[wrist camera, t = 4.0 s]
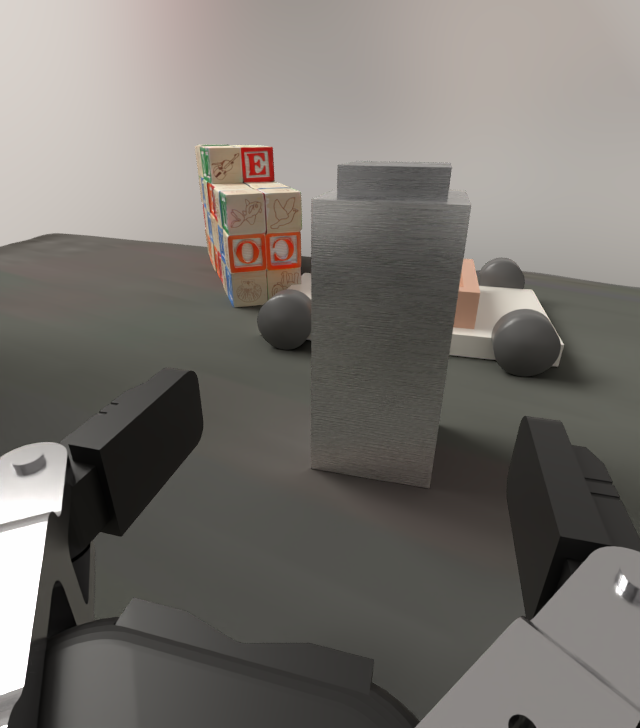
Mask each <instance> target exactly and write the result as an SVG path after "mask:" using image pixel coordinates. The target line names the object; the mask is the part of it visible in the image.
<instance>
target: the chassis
mask: <svg viewBox="0 0 640 728" xmlns="http://www.w3.org/2000/svg"><path fill="white" fill-rule="evenodd" d="M478 283H479V285H478ZM524 284H525V279H524V275H523V273H522V271H521V270H520V268H519V266H518V265H517V264H516V263H515V262H514V261H512V260H510V259H507V258H496V259H493V260H491V261H489V262H487V263H486V264H485V265H484V266H483V267H482V269H481V270H480V273H479V276H478V280H477V275H476V271H475V266H474V262H473V260H472V259H463V265H462V271H461V278H460V285H459V292H458V299H457V305H456V312H455V319H454V326H453V333H452V339H451V346H450V353H449V355H453V356H463V357H472V358H481V359H491V360H496V361H497V363H498V364H499V365H500V367H501V368H502V369H504V370H505V371H507V372H508V373H511V374H513V375H517V376H533V375H537V374H540V373H542V372H544V371H546V370H547V369H549V368H550V367H551V366H556V367H558V366H559V362H560V358H561V355H562V351H563V347H564V344H563V342H562V340H561V339H560V337H559V335H558V333H557V332H556V330H555V328H554V327H553V325H552V323H551V321H550V320H549V318H548V316H547V314H546V313H545V311H544V309H543V307H542V306H541V304H540V302H539V300H538V299H537V297H536V295H535V293H534V292H533V290H529V289H523V288H524ZM257 323H258V328H259V333H260V335H262V336H263V338H264V339H265V340H266V341H267V342H268V343H269V344H271V345H272V346H274V347H276V348H279V349H285V350H289V349H294V348H297V347H299V346H300V345H302V344H303V343H304V342H305V340H311V273H304V274H303V275H302V276H301V284H296V285H291V286H290V287H289V288H288V289H286V290H282V291H280V292H278V293H276V294H275V295H274V296H273V297H272V298H271V299H269V300H268V301H267V302H266V303H265V304H264V305H263V306H262V307H261V309H260V311H259V313H258V318H257Z"/></svg>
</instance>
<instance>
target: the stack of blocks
mask: <svg viewBox="0 0 640 728" xmlns="http://www.w3.org/2000/svg"><path fill="white" fill-rule="evenodd" d="M195 153H196V159H197V166H198V173H199V185H200V192H201V200H202V202H203V211H204V218H205V227H206V230H205V233H206V240H207V247H208V254H209V256H210V260H211V262H212V264H213V267H214V269H215V271H216V272H217V273H218V275H219V277H220V279H221V280H222V282H223V286H224V289H225V292H226V294H227V296H228V297H229V299H230V301H231V303H232V305H233V307H234V308H235V307H246V306H256V305H264V304H265V303H266V302H267V301H268V300H269V299H271V298H272V297H273V296H274V295H275V294H276V293H278V292H280V291H282V290H286V289H288V288H289V287H290V286H291V285H296V284H301V268H300V267H301V234H300V231H301V229H302V211H301V210H302V209H301V192H300V191H297V190H295V189H292V188H290V187H288V186H285V185H283V184H281V183H277V182H274V162H273V148H272V147H270V146H262V145H197V146H195Z"/></svg>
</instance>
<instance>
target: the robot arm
mask: <svg viewBox="0 0 640 728" xmlns="http://www.w3.org/2000/svg"><path fill="white" fill-rule="evenodd" d="M202 431H203V416H202V408H201V399H200V391H199V383H198V378H197V375H196V373H195V372H194V371H189V370H182V369H174V368H163V369H162V370H160V371H159V372H158V373H157V374H155V375H154V376H153V377H152V378H150V379H149V380H148V381H147V382H145V383H143V384H140V385H138V386H136V387H134V388H131V389H129V390H127V391H125V392H123V393H122V394H121V395H120V396H118V397H117V398H116V399H114V400H113V401H112V402H111V404H110V405H109V404H108V405H107V406H105V407H104V408H103V409H102V410H100V411H99V414H95V415H94V416H93V417H91V418H90V419H89V420H87V421H86V422H85V423H84V424H82V425H81V426H80V427H78V428H77V429H76V430H75V431H73V432H72V433H71V434H69V435H68V436H67V437H66V438H64V439H63V440H62V441H60V442H59V443H53V442H40V443H34V444H29V445H25V446H22V447H19V448H17V449H14V450H12V451H10V452H8V453H6V454H5V455H3V456H2V457H0V728H640V538H639V536H638V534H637V532H636V530H635V528H634V526H633V524H632V522H631V520H630V517H629V515H628V513H627V511H626V509H625V507H624V505H623V503H622V501H620V500H619V498H620V497H619V494H618V492H617V490H616V488H615V486H614V485H612V480H611V478H610V476H609V474H608V471H607V469H606V467H605V465H604V464H603V463H602V462H601V461H600V460H599V459H598V458H597V457H596V456H595V455H594V454H593V453H592V452H591V451H589V450H588V449H587V448H586V447H581V446H574V445H571V443H570V441H569V438H568V436H567V433H566V431H565V428H564V426H563V423H562V422H561V421H558V420H551V419H543V418H536V417H528V416H524V417H523V418H522V420H521V423H520V427H519V431H518V435H517V439H516V443H515V447H514V451H513V455H512V459H511V463H510V467H509V472H508V478H507V502H508V508H509V514H510V521H511V527H512V533H513V539H514V545H515V552H516V558H517V564H518V570H519V576H520V583H521V589H522V595H523V601H524V607H525V614H526V617H525V616H521V617H519V618H518V619H516V620H515V621H514V622H513V623H512V624H511V625H510V626H509V627H508V628H507V629H506V630H505V631H504V632H503V633H502V634H501V635H500V637H499V638H498V639H497V640H496V641H495V642H494V643H493V644H492V645H491V646H490V647H489V648H488V649H487V651H486V652H485V653H484V654H483V655H482V656H481V657H480V658H479V659H478V660H477V661H476V662H475V663H474V665H473V666H472V667H471V668H470V669H469V670H468V671H467V672H466V673H465V674H464V675H463V676H462V677H461V679H460V680H459V681H458V682H457V683H456V684H455V685H454V686H453V687H452V688H451V689H450V690H449V691H448V693H447V694H446V695H445V696H444V697H443V698H442V699H441V700H440V701H439V702H438V703H437V704H436V705H435V707H434V708H433V709H432V710H431V711H430V712H429V713H428V714H427V715H426V716H425V717H424V718H423V719H422V721H421V722H419V720H418V719H417V718H416V717H415V716H414V715H413V714H412V713H411V712H410V711H409V710H408V709H407V708H406V707H405V706H404V705H403V704H402V703H401V702H400V701H399V700H397V699H396V698H395V697H393V696H392V695H391V694H389V693H388V692H387V691H385V690H384V689H382V688H380V687H379V686H377V685H375V684H374V683H372V674H373V664H374V660H373V659H369V658H366V657H362V656H358V655H354V654H350V653H346V652H342V651H339V650H335V649H331V648H327V647H323V646H319V645H315V644H312V643H240V642H237V641H235V640H233V639H231V638H230V637H228V636H227V635H225V634H223V633H222V632H220V631H219V630H217V629H215V628H214V627H212V626H210V625H209V624H207V623H206V622H204V621H202V620H201V619H199V618H197V617H196V616H194V615H193V614H191V613H189V612H188V611H184V610H180V609H177V608H173V607H169V606H165V605H161V604H157V603H153V602H150V601H146V600H142V599H138V598H134V597H133V599H132V600H131V602H130V603H129V605H128V606H127V607H126V609H125V610H124V612H123V613H122V615H121V616H120V617H113V618H106V619H99V620H95V621H94V603H95V545H94V542H93V539H94V538H95V537H96V536H97V535H98V533H99V532H103V533H108V534H112V535H116V536H122V535H123V534H124V533H125V532H126V530H127V529H128V528H129V527H130V526H131V524H132V523H133V522H134V521H135V520H136V518H137V517H138V516H139V515H140V513H141V512H142V511H143V510H144V509H145V507H146V506H147V505H148V504H149V503H150V501H151V500H152V499H153V498H154V496H155V495H156V494H157V493H158V492H159V490H160V489H161V488H162V487H163V486H164V484H165V483H166V482H167V481H168V480H169V478H170V477H171V476H172V475H173V473H174V472H175V471H176V470H177V469H178V467H179V466H180V465H181V464H182V463H183V461H184V460H185V459H186V458H187V457H188V455H189V454H190V453H191V452H192V450H193V449H194V448H195V447H196V446H197V444H198V442H199V441H200V438H201V435H202Z"/></svg>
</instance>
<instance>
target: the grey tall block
mask: <svg viewBox="0 0 640 728" xmlns="http://www.w3.org/2000/svg"><path fill="white" fill-rule="evenodd" d="M451 168H452V167H451V163H429V162H428V163H425V162H377V161H371V162H370V161H355V162H350V163H346V164H341V165H338V174H337V175H338V176H337V189H334V190H332V191H329V192H327V193H325V194H322V195H320V196H318V197H315V198H313V199H311V212H312V213H311V469H317V470H323V471H329V472H335V473H341V474H347V475H353V476H358V477H364V478H370V479H376V480H382V481H388V482H394V483H400V484H406V485H412V486H417V487H423V488H429V489H430V482H431V475H432V468H433V462H434V455H435V448H436V441H437V434H438V428H439V421H440V414H441V407H442V400H443V394H444V387H445V380H446V373H447V366H448V360H449V353H450V346H451V339H452V333H453V326H454V319H455V312H456V305H457V299H458V292H459V285H460V278H461V271H462V265H463V258H464V251H465V243H466V237H467V230H468V224H469V216H470V210H471V203H470V201H469V198H468V195H467V193H466V191H465V190H449V184H450V177H451Z"/></svg>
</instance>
